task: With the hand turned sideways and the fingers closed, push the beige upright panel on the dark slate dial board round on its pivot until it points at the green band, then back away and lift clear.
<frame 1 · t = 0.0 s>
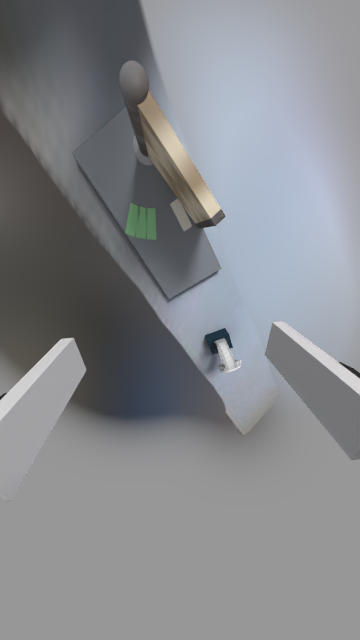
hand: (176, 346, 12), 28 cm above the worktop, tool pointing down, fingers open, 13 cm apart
watch: (217, 337, 46), on the worktop
dial board: (158, 220, 32), on the worktop
beige upright panel: (176, 174, 23), point 8 cm above the worktop, hinge at 0.0°
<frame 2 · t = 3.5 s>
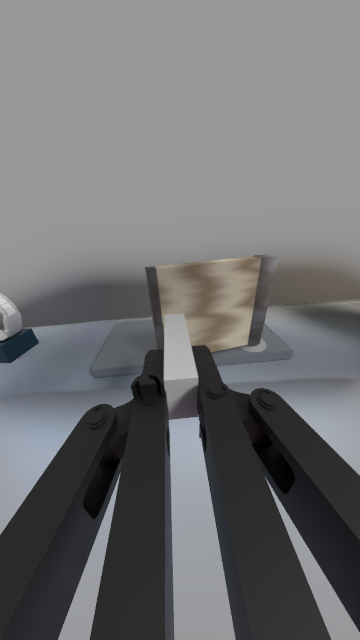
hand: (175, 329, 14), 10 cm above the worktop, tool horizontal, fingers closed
watch: (14, 352, 30), on the worktop
dial board: (188, 341, 30), on the worktop
beige upright panel: (213, 310, 21), point 8 cm above the worktop, hinge at 0.0°
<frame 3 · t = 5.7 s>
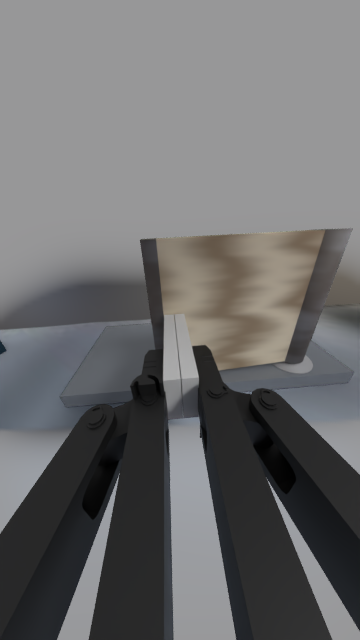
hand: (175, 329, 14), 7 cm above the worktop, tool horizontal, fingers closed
dial board: (199, 353, 22), on the worktop
beige upright panel: (239, 310, 15), point 8 cm above the worktop, hinge at -5.7°, touching gripper
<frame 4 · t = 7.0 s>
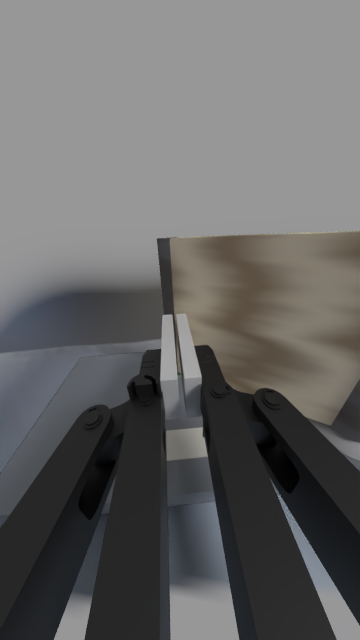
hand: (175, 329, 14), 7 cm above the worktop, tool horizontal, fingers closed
dial board: (206, 402, 16), on the worktop
beige upright panel: (263, 330, 12), point 8 cm above the worktop, hinge at -41.5°, touching gripper
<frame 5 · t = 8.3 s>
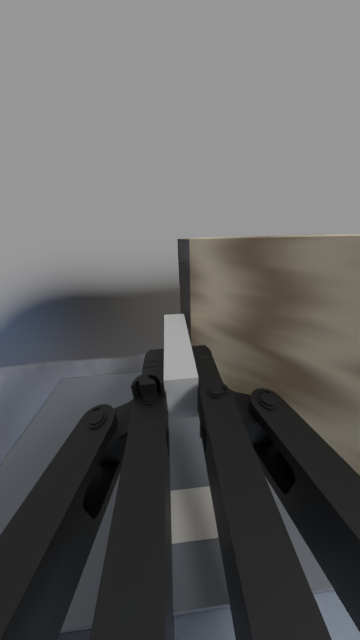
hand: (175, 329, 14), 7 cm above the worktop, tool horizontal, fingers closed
dial board: (209, 440, 13), on the worktop
beige upright panel: (287, 348, 10), point 8 cm above the worktop, hinge at -55.1°
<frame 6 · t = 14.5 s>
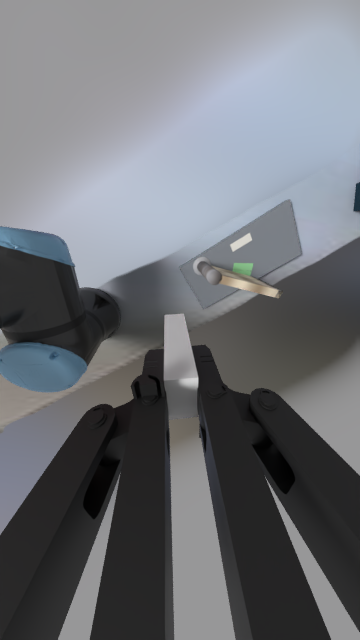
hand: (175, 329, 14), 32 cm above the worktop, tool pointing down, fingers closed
dial board: (238, 260, 43), on the worktop
beige upright panel: (234, 278, 37), point 8 cm above the worktop, hinge at -55.1°
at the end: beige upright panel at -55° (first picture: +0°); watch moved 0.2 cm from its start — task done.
